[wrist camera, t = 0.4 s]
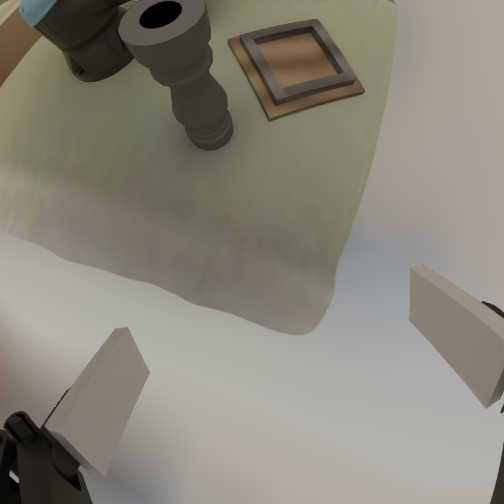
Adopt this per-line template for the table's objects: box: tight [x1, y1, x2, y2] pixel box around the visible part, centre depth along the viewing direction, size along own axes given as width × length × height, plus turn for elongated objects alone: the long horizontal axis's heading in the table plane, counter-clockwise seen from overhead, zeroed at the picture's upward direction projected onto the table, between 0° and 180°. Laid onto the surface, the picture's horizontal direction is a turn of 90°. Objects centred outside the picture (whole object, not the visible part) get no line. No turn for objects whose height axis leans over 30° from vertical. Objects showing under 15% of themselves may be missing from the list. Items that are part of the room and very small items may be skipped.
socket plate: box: [228, 19, 365, 121], centre depth 33 cm, size 16×16×3 cm
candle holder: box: [118, 0, 233, 150], centre depth 24 cm, size 6×6×25 cm
